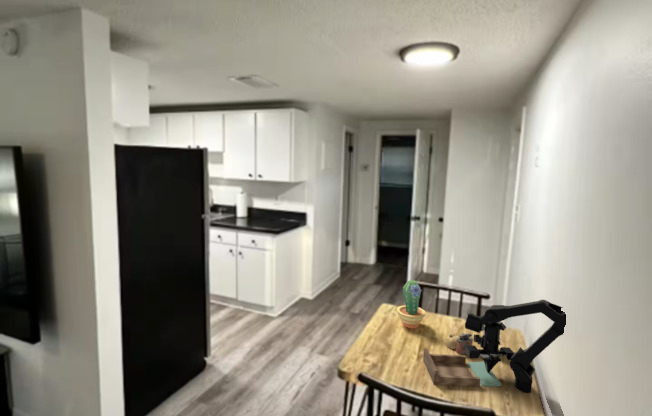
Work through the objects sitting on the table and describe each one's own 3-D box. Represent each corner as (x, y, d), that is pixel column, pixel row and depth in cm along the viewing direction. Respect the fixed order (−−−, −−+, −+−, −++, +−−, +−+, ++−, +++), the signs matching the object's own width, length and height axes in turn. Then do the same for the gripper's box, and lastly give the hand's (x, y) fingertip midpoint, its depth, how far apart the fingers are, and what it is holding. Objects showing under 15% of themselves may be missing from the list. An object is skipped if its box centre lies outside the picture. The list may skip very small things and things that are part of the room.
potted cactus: (393, 327, 193) (395, 282, 190) (399, 316, 207) (401, 274, 204) (422, 333, 187) (425, 287, 184) (426, 322, 201) (429, 278, 198)
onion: (454, 343, 178) (456, 329, 177) (466, 351, 171) (467, 337, 170) (441, 345, 175) (442, 331, 174) (452, 354, 168) (453, 339, 167)
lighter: (458, 357, 165) (460, 336, 164) (453, 353, 169) (455, 333, 167) (473, 355, 167) (475, 334, 166) (468, 351, 171) (470, 331, 169)
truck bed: (433, 387, 142) (434, 370, 141) (423, 363, 159) (424, 348, 158) (479, 389, 142) (481, 372, 141) (464, 365, 159) (465, 350, 158)
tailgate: (482, 384, 142) (501, 383, 142) (467, 362, 158) (484, 361, 158) (482, 386, 142) (501, 386, 142) (467, 364, 158) (484, 363, 158)
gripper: (505, 328, 156) (501, 362, 158) (462, 326, 156) (458, 360, 158) (518, 341, 145) (514, 377, 147) (471, 338, 145) (468, 375, 147)
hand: (487, 371), depth 150 cm, fingers closed
